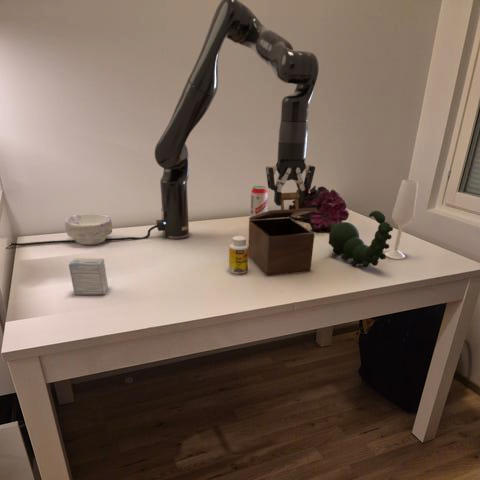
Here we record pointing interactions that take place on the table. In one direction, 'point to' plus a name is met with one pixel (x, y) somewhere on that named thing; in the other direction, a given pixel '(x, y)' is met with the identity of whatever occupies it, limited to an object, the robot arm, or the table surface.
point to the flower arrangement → (322, 208)
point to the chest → (280, 246)
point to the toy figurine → (360, 242)
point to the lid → (282, 212)
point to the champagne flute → (403, 212)
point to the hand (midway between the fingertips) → (288, 204)
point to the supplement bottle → (238, 255)
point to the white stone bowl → (88, 228)
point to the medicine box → (88, 276)
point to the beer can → (258, 200)
